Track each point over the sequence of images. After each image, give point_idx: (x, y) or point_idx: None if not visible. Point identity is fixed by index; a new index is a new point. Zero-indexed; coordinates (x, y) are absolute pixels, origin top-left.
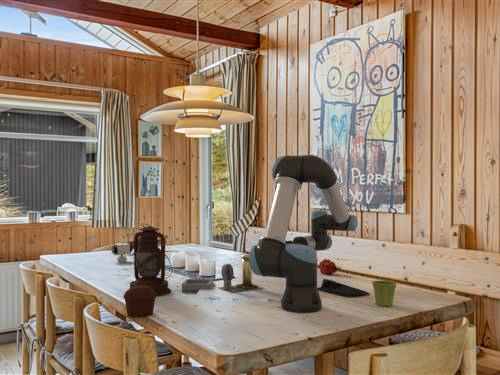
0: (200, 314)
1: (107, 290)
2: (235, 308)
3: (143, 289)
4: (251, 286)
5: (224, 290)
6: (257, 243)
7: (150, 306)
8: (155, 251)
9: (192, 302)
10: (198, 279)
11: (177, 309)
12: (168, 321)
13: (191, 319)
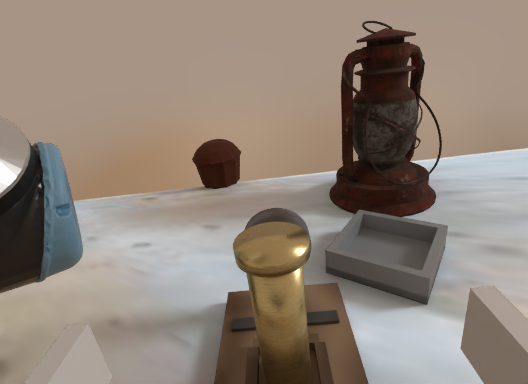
0: (149, 222)
1: (419, 162)
2: (121, 271)
3: (201, 145)
4: (247, 375)
5: None
6: (489, 289)
7: (200, 173)
8: (356, 101)
9: (240, 228)
10: (431, 245)
11: (209, 207)
12: (158, 195)
13: (138, 211)
